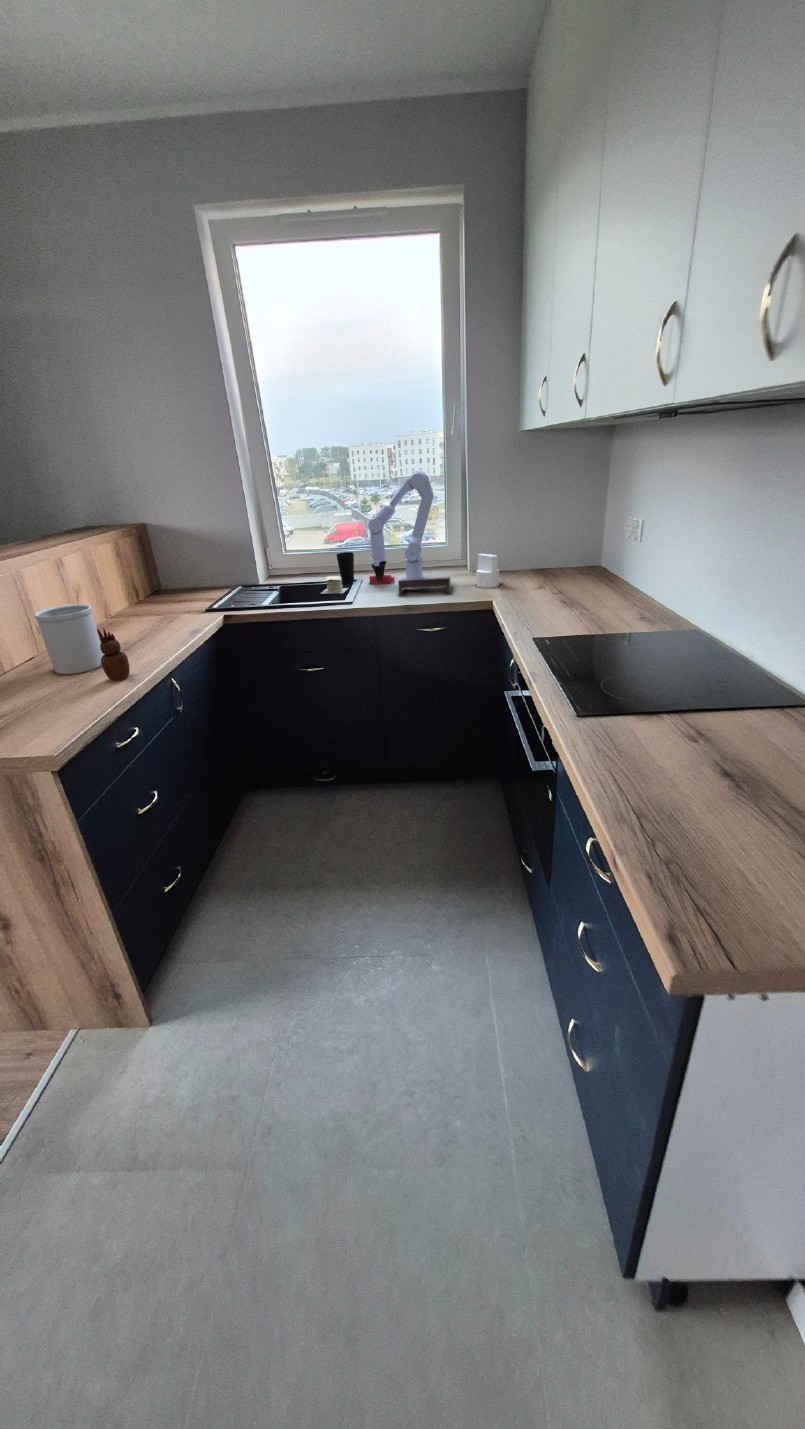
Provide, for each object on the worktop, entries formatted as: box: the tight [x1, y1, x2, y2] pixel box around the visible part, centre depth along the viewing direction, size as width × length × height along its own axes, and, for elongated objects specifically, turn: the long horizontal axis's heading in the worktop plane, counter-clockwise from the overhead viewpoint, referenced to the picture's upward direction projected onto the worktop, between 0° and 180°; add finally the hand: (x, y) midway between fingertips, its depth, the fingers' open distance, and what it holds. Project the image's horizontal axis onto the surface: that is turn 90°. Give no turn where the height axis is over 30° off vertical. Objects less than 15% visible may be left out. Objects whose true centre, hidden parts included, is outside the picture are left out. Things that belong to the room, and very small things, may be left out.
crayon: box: [368, 574, 395, 585], centre depth 250 cm, size 3×11×3 cm, turn 84°
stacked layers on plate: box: [320, 575, 349, 595], centre depth 241 cm, size 10×9×6 cm
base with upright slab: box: [476, 553, 500, 589], centre depth 231 cm, size 9×9×12 cm
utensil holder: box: [33, 603, 104, 675], centre depth 170 cm, size 15×15×18 cm
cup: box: [336, 551, 355, 583], centre depth 256 cm, size 8×8×12 cm
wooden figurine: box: [96, 628, 131, 682], centre depth 158 cm, size 7×6×15 cm
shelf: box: [397, 576, 452, 597], centre depth 230 cm, size 12×20×6 cm, turn 84°
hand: (380, 579), depth 250 cm, fingers open, 3 cm apart
